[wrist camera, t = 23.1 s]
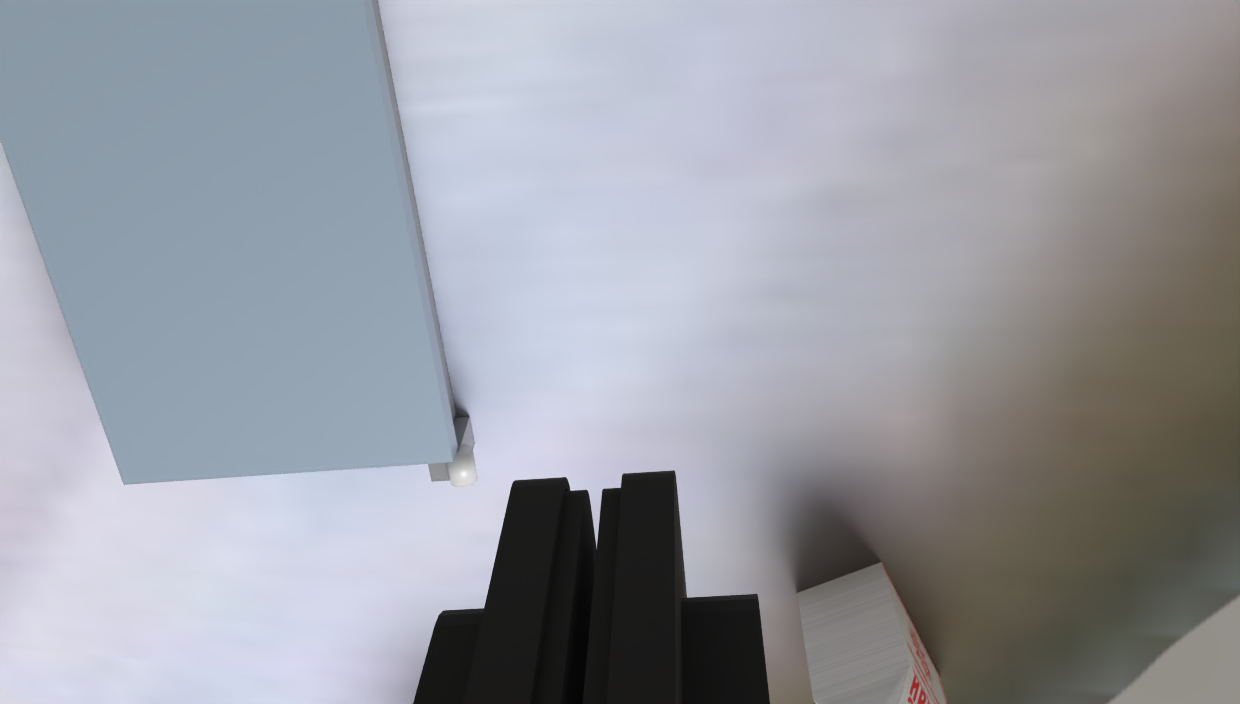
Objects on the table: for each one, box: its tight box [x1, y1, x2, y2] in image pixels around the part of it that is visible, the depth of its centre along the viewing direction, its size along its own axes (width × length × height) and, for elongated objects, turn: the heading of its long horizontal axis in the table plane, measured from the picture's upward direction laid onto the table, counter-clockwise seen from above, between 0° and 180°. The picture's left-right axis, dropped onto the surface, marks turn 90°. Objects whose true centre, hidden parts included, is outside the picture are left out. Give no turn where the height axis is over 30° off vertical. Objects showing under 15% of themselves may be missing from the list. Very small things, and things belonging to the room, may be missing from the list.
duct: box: [372, 0, 478, 487], centre depth 36 cm, size 12×25×3 cm, turn 6°
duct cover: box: [0, 0, 458, 485], centre depth 35 cm, size 12×22×1 cm, turn 6°
